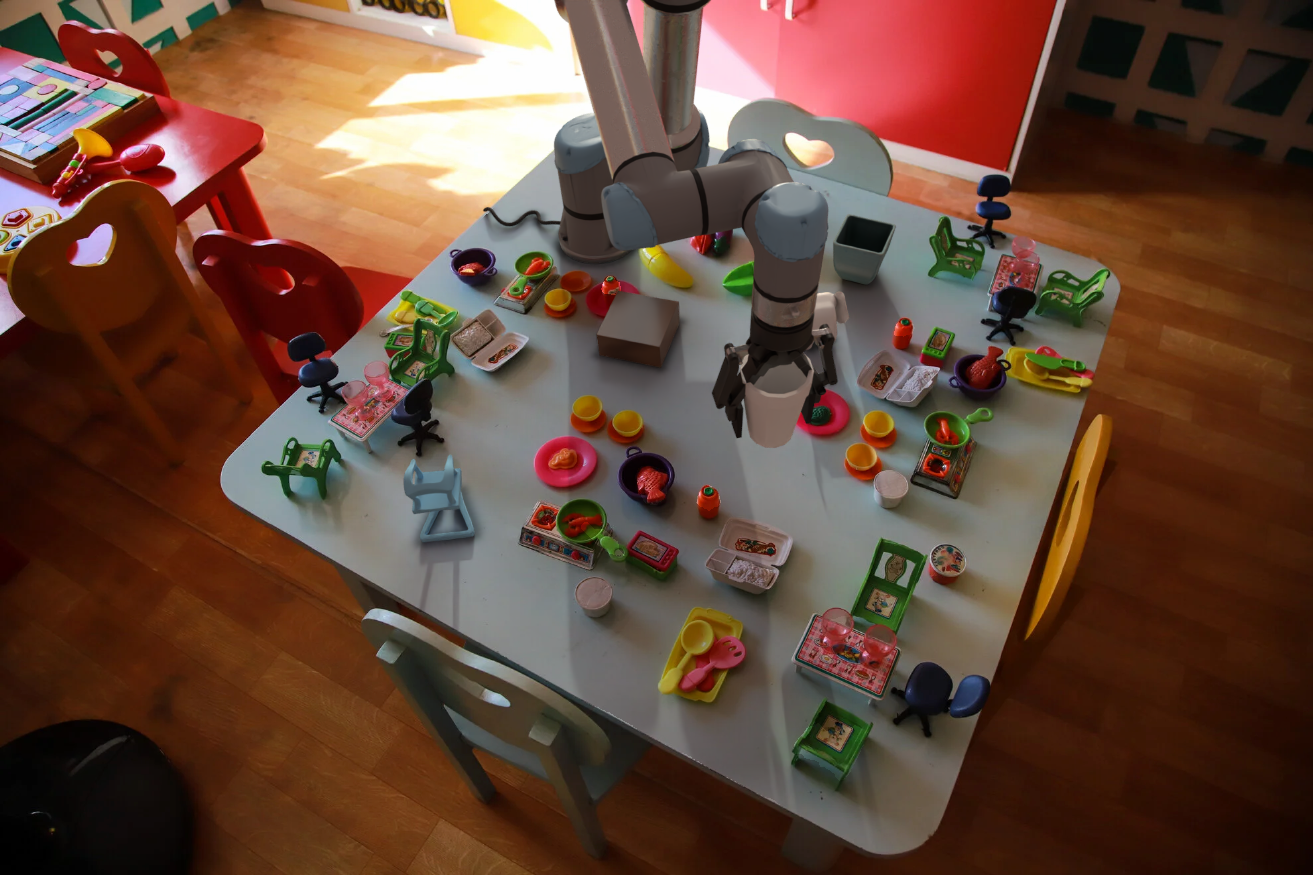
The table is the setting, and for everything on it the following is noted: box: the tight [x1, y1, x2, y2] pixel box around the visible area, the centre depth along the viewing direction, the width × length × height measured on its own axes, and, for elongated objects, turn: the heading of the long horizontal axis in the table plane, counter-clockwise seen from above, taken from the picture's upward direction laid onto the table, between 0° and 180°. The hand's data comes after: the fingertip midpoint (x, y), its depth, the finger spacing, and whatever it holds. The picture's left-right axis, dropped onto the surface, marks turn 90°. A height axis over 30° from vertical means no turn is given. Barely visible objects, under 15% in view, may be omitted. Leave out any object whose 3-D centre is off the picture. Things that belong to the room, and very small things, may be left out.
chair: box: [403, 454, 476, 543], centre depth 116 cm, size 8×8×12 cm
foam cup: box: [739, 354, 814, 449], centre depth 111 cm, size 10×9×13 cm
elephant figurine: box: [805, 291, 850, 351], centre depth 136 cm, size 10×12×9 cm
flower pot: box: [832, 213, 897, 286], centre depth 144 cm, size 9×9×9 cm
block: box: [595, 290, 681, 368], centre depth 139 cm, size 11×11×5 cm
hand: (771, 423), depth 115 cm, fingers closed on foam cup, 9 cm apart
